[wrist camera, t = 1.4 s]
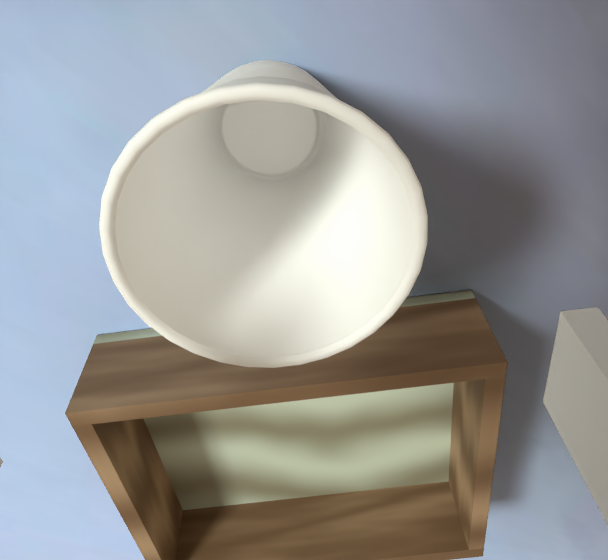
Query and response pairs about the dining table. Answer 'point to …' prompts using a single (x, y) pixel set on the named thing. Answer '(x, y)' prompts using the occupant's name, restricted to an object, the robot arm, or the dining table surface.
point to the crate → (302, 442)
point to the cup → (263, 221)
